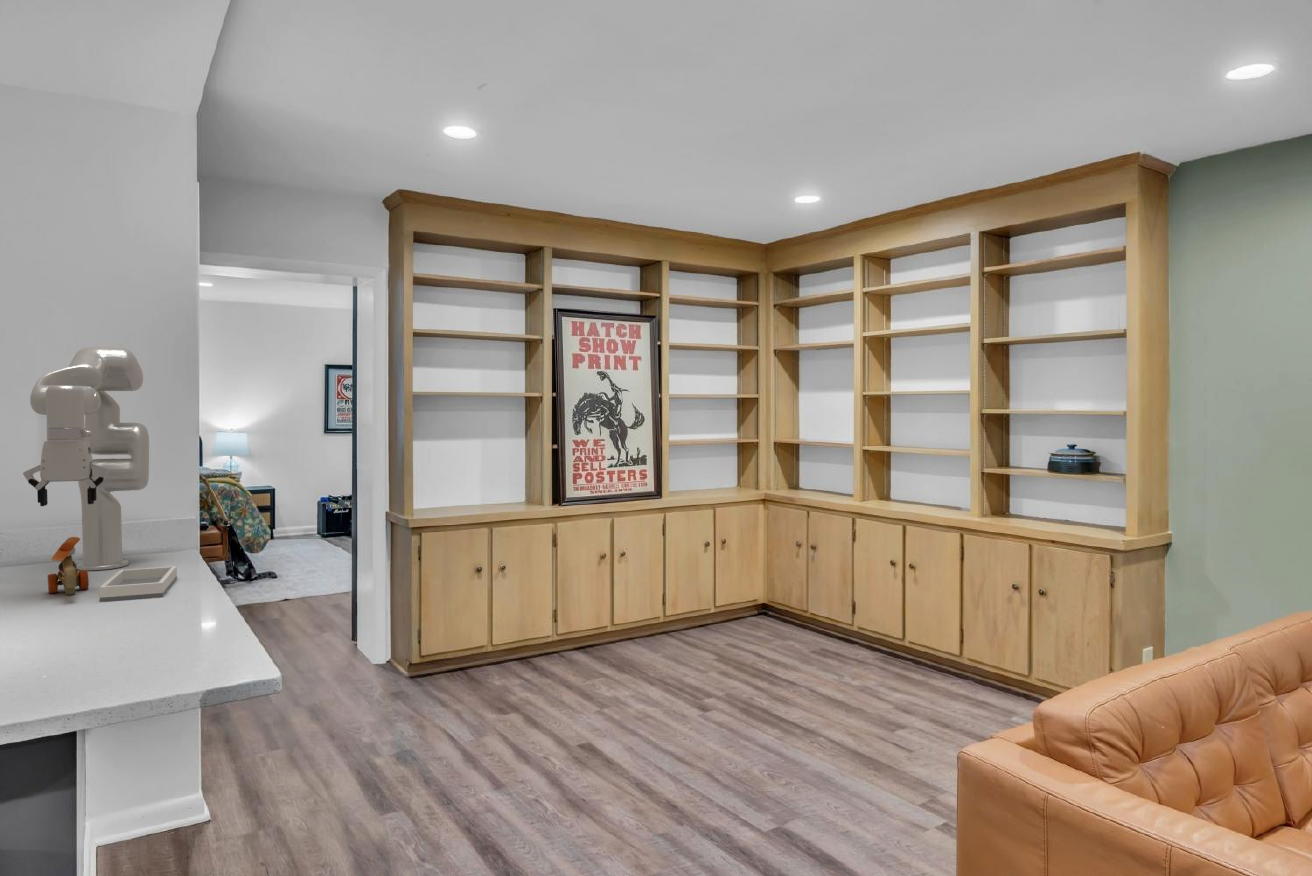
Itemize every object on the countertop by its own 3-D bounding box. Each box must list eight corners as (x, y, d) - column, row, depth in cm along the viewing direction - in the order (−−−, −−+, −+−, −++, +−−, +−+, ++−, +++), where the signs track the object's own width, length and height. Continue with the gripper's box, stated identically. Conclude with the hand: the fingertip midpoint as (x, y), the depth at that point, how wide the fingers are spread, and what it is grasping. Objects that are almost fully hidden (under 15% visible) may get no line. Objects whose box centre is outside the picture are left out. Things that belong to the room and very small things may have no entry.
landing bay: (120, 583, 214) (120, 570, 214) (176, 579, 220) (176, 566, 219) (99, 601, 193) (99, 587, 193) (162, 596, 198) (162, 582, 198)
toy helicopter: (87, 586, 210) (85, 534, 210) (94, 601, 194) (92, 544, 194) (47, 591, 205) (46, 537, 205) (51, 606, 189) (49, 548, 189)
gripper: (111, 434, 206) (112, 501, 207) (27, 435, 199) (29, 505, 200) (104, 435, 199) (105, 504, 200) (17, 436, 192) (19, 508, 193)
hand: (67, 504), depth 200 cm, fingers open, 9 cm apart
